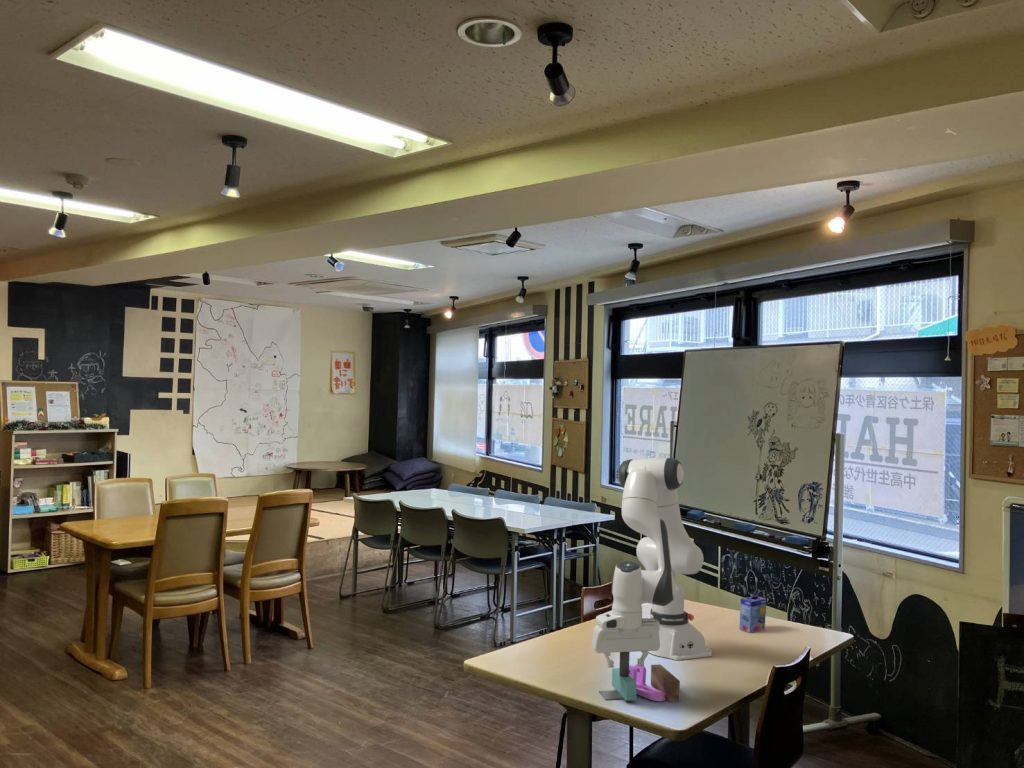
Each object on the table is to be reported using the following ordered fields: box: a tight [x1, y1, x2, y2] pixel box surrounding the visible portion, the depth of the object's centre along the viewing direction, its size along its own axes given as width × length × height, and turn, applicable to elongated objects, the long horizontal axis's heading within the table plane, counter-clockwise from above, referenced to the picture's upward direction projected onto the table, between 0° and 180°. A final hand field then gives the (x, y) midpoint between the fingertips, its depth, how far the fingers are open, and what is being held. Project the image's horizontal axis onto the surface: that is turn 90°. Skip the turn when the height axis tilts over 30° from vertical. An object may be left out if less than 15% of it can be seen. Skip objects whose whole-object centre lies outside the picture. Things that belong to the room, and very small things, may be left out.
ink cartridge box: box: [739, 592, 767, 634], centre depth 290 cm, size 10×6×14 cm, turn 126°
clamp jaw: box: [611, 652, 637, 702], centre depth 219 cm, size 3×12×12 cm, turn 12°
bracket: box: [629, 663, 666, 702], centre depth 221 cm, size 13×6×7 cm, turn 38°
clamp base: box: [598, 664, 681, 704], centre depth 220 cm, size 21×14×6 cm, turn 102°
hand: (625, 666), depth 219 cm, fingers open, 8 cm apart
